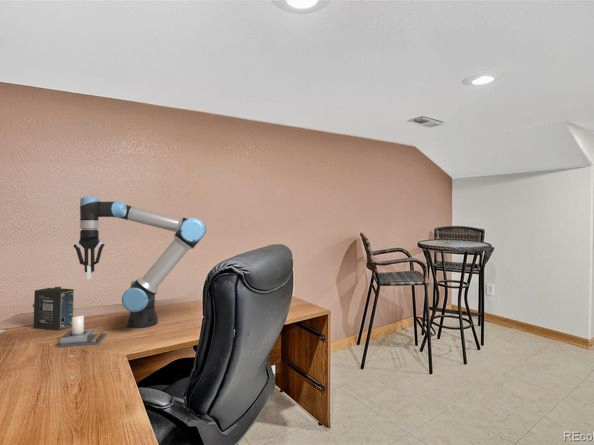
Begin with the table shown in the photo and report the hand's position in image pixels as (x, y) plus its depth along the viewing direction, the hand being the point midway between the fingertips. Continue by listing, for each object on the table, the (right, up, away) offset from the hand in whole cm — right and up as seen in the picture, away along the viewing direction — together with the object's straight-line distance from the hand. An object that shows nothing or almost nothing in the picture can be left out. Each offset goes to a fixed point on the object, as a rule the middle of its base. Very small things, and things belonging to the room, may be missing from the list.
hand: (89, 278), depth 161 cm
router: (-24, -26, +9) cm, 37 cm away
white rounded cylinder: (+2, -25, -11) cm, 27 cm away
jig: (+4, -26, -11) cm, 28 cm away
